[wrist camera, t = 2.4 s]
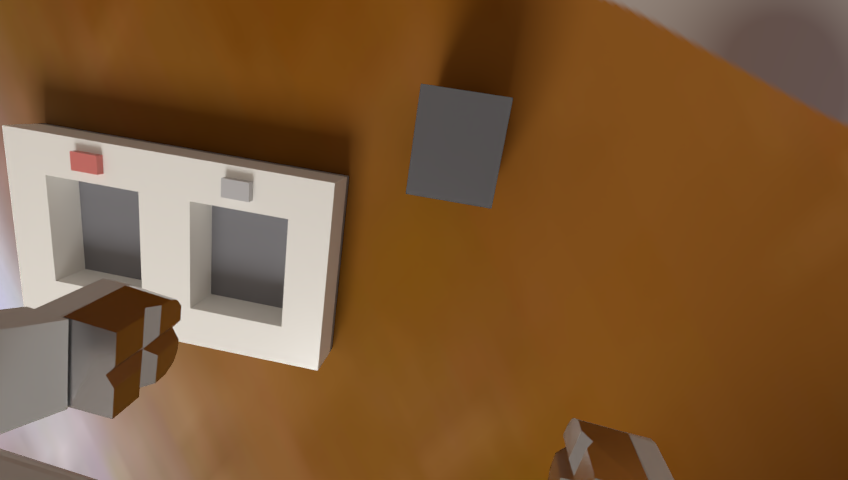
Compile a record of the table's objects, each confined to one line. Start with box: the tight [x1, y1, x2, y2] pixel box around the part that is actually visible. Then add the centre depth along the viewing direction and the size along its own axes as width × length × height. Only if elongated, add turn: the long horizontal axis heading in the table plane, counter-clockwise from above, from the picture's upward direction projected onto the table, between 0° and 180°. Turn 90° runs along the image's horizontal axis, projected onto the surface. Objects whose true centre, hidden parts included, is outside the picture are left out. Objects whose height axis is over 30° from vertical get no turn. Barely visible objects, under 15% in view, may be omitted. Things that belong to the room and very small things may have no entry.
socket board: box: [2, 123, 349, 371], centre depth 32 cm, size 22×13×4 cm, turn 81°
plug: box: [406, 84, 513, 208], centre depth 26 cm, size 4×6×6 cm
